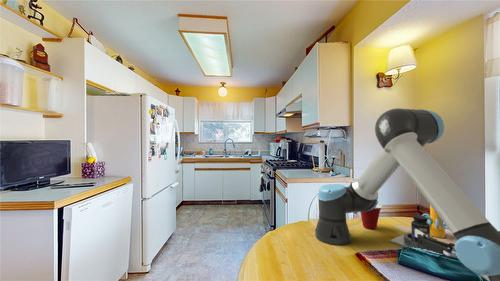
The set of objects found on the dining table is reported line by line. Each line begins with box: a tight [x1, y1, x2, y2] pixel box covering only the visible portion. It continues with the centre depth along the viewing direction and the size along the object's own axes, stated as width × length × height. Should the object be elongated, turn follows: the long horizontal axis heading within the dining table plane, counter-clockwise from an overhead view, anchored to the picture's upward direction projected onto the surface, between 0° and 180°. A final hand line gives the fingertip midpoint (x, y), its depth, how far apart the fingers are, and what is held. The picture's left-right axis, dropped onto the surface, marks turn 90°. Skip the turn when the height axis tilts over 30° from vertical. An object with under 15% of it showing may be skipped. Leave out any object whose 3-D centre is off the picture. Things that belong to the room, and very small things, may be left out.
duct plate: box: [389, 232, 454, 253], centre depth 90 cm, size 16×16×3 cm
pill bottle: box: [410, 214, 431, 241], centre depth 90 cm, size 6×6×11 cm
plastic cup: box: [359, 204, 383, 231], centre depth 108 cm, size 11×11×12 cm
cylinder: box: [421, 204, 449, 239], centre depth 99 cm, size 12×10×15 cm
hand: (436, 233), depth 80 cm, fingers open, 13 cm apart
